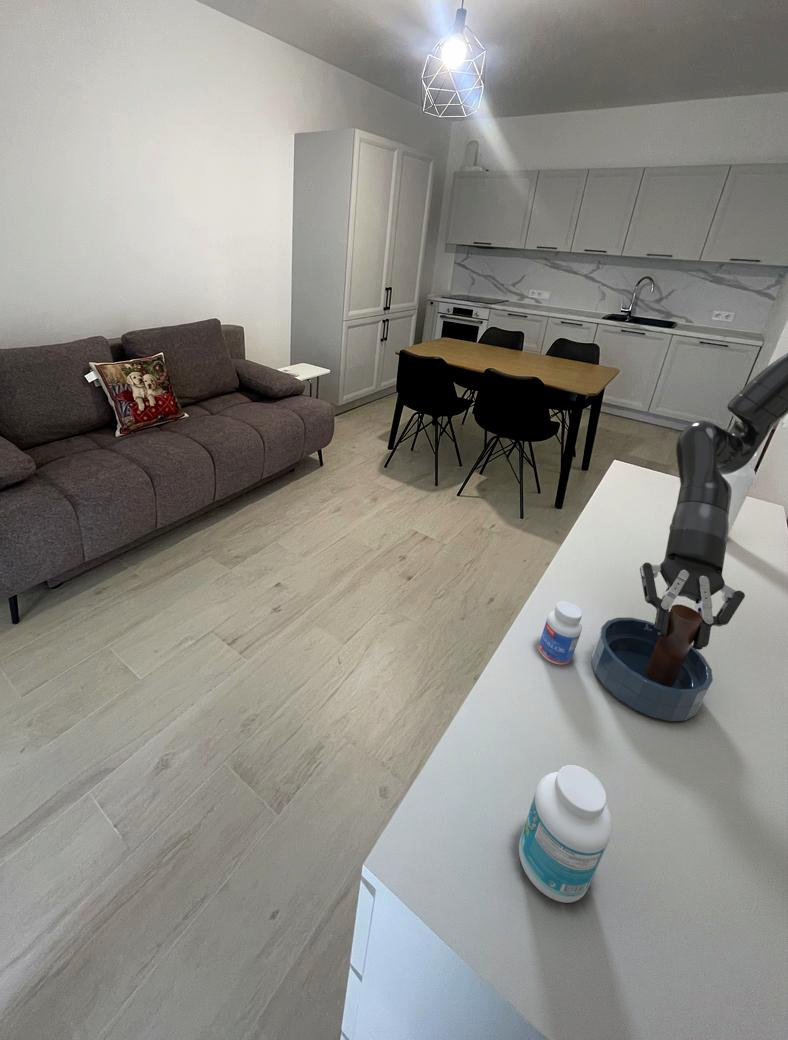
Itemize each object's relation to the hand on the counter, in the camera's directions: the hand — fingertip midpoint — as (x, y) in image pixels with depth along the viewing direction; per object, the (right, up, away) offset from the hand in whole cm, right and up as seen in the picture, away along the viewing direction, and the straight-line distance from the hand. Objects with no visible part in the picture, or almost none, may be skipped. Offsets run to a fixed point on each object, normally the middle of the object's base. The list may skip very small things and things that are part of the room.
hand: (679, 641), depth 74 cm
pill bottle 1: (-14, -7, +11) cm, 19 cm away
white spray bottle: (+45, +6, +54) cm, 71 cm away
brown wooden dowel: (0, -8, +5) cm, 9 cm away
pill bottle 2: (-27, -18, -19) cm, 38 cm away
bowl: (-2, -9, +7) cm, 12 cm away
